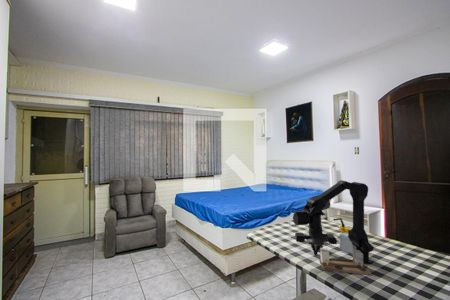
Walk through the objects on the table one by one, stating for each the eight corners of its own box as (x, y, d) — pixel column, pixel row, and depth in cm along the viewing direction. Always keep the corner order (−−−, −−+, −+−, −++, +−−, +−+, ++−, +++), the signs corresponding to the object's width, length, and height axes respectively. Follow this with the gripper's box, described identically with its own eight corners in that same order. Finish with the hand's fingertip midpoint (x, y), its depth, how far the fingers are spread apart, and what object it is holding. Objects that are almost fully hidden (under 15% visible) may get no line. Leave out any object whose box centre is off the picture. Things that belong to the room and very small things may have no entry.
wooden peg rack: (319, 261, 110) (318, 247, 110) (362, 264, 107) (361, 249, 107) (324, 270, 101) (323, 255, 102) (371, 274, 98) (370, 258, 98)
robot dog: (336, 235, 144) (335, 215, 144) (364, 245, 128) (364, 223, 128) (330, 237, 141) (330, 216, 141) (359, 247, 125) (358, 224, 125)
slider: (320, 259, 109) (320, 247, 109) (327, 260, 109) (326, 248, 109) (324, 266, 103) (324, 254, 103) (331, 267, 102) (330, 254, 102)
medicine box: (358, 253, 119) (357, 237, 119) (353, 254, 117) (352, 238, 117) (344, 247, 126) (344, 232, 126) (339, 249, 124) (339, 233, 124)
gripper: (297, 228, 102) (298, 261, 102) (340, 230, 99) (341, 265, 98) (294, 221, 113) (295, 251, 113) (332, 222, 109) (333, 253, 109)
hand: (315, 255), depth 108 cm, fingers closed
